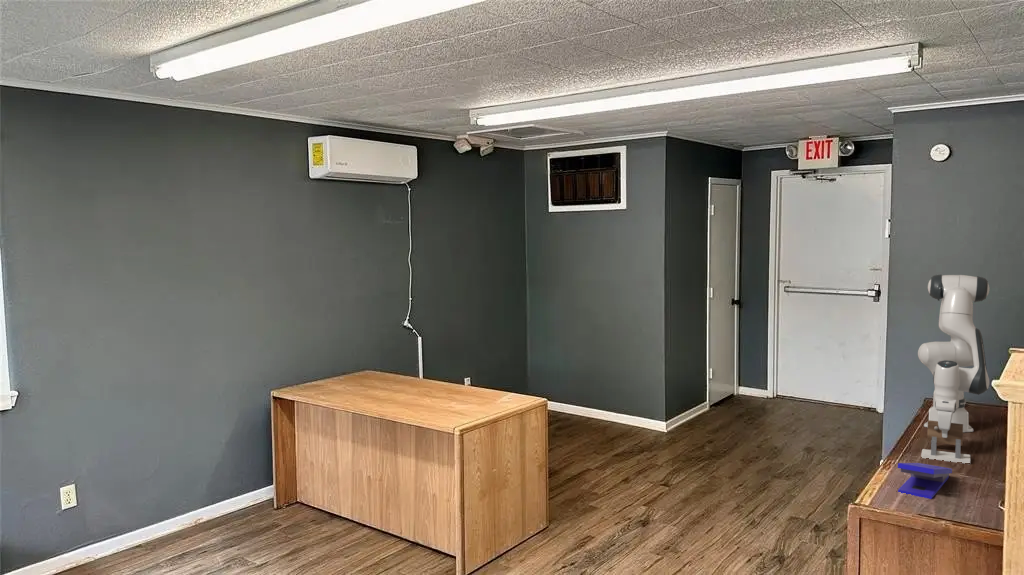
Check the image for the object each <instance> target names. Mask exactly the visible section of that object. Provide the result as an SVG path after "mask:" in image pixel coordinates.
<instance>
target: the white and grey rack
mask: <svg viewBox="0 0 1024 575" xmlns="http://www.w3.org/2000/svg"><path fill="white" fill-rule="evenodd" d="M930 443H931V444H930V449H927V448H922V450H921V455H920V456H921V457H922V458H921V457H920V458H921V459H926V458H929V459H928V460H934V459H936V461H942V460H944V461H943V462H950V461H951V463H957V462H962V463H961V464H965V463H970V464H971V454H967V453H961V440H959V439H956V445H955V449H954V450H955V452H950V451H943V450H942V451H941V450H937V444H938V443H937V437H932V440H931V442H930Z"/></svg>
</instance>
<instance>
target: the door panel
mask: <svg viewBox="0 0 1024 575" xmlns="http://www.w3.org/2000/svg"><path fill="white" fill-rule="evenodd" d="M927 422H928V427H927V432H926V433H927V437H926V438H927V439H926V441H927V442H929V443H931V440H932V437H937V444H943V445H944V444H945V445H954V446H956V439H959V440H961V446H962V447H963V437H964V436H963V434H964V432H963V424H957V423H951V426H950V430H948V432H947V438H943V437H942V430H940V429H939V426H938V421H931V420H929V419H928V420H927Z"/></svg>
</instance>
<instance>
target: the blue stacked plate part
mask: <svg viewBox="0 0 1024 575" xmlns="http://www.w3.org/2000/svg"><path fill="white" fill-rule="evenodd" d="M897 468H898V469H900V473H905V474H910V476H909V478H907V479H906V480H905V482H904V483H903V484H902V485H901V486H900V487H899V488H898V489H897V493H898V492H901V493H900V494H903V493H906V494H905V495H908V494H911V495H910V496H913V495H914V497H920V498H923V497H924V498H925V499H930V500H932V499H933V498H934V496H935V495H936V494H938V492H939V490H940V489H942V487H943V485H944V484H945V483H946V482H947V481H948V480H949V476H950V474H953V468H950V467H945V466H944V467H943V466H937V465H932V464H926V463H921V462H898V463H897Z"/></svg>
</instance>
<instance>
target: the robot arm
mask: <svg viewBox="0 0 1024 575" xmlns="http://www.w3.org/2000/svg"><path fill="white" fill-rule="evenodd" d="M927 290H928V293H929V296H930V297H931V298H932V299H935V300H937V302H941V303H940V308H939V316H938V317H939V318H938V328H939V330H940V332H942V333H944V334H946V335H948V336H949V337H950V341H930V342H924V343H922V344H921V345H920V346H919V348H918V350H917V357H918V359H919V361H920V362H921V363H922V364H923V365H924V366H925V367H927V369H928V370H929V371H930V373H931V374H932V376H933V378H932V380H933V381H932V382H933V384H934V390H933V393H932V394H933V399H932V405H933V406H931V407H930V408H929V410H928V420H931V421H938V426H939V429H940V430H942V437H943V438H947V432H948V430H950V426H951V423H957V424H963V433H971V432H972V433H973V432H974V428H973V426H971V425H970V424H969V422H970V420H969V412H968V410H967V409H966V408H965V406H966V405H965V400H966V398H964V397H965V396H964V395H965V393H969V394H973V395H974V394H975V395H978V396H979V395H982V394H984V393H986V392H987V391H989V387H990V378H989V375H988V370H987V363H986V355H985V354H986V353H985V346H984V340H983V335H982V333H981V330H980V329H979V328H977V327H976V326H975V324H974V321H973V320H974V319H973V318H974V317H973V315H974V314H973V313H974V306H973V305H974V304H973V302H974V303H979V302H982V301H985V300H987V297H988V295H989V293H990V285H989V281H988V279H986V278H985V277H982V276H973V275H966V274H965V275H964V274H944V275H943V274H935V275H932V276H931V277H930V280H929V281H928V283H927ZM940 300H941V301H940ZM968 367H969V368H968ZM971 367H972V368H971ZM923 427H925V428H928V421H927V422H925V423H924V424H923Z"/></svg>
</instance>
